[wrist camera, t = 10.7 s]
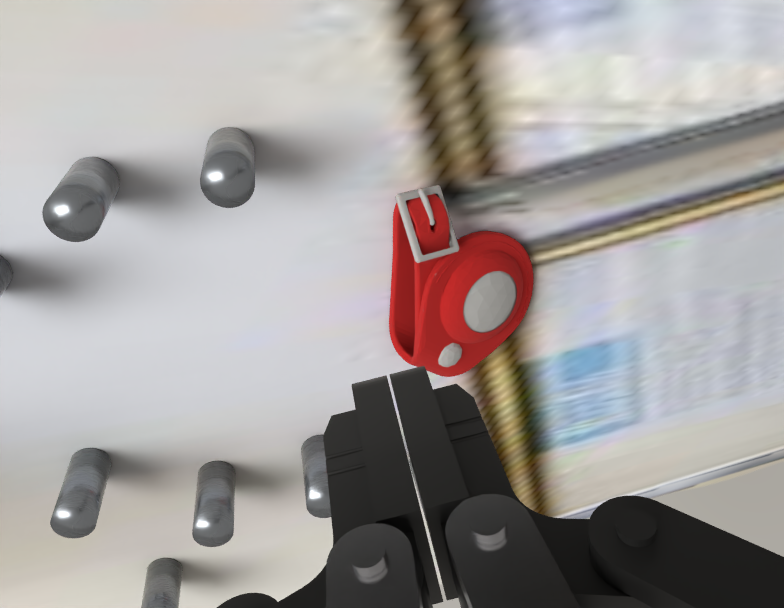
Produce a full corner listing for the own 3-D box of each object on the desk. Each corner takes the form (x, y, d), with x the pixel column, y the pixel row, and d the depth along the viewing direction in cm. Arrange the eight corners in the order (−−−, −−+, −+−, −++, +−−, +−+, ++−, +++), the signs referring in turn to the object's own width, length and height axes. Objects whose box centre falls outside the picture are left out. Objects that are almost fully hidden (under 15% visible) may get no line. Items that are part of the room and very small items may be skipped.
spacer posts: (381, 94, 35) (399, 118, 30) (451, 507, 50) (469, 561, 46) (-83, 193, 33) (-133, 233, 29) (140, 588, 49) (129, 652, 44)
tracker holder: (571, 263, 41) (490, 404, 42) (524, 242, 44) (450, 372, 45) (432, 177, 34) (339, 350, 35) (389, 159, 37) (305, 317, 38)
